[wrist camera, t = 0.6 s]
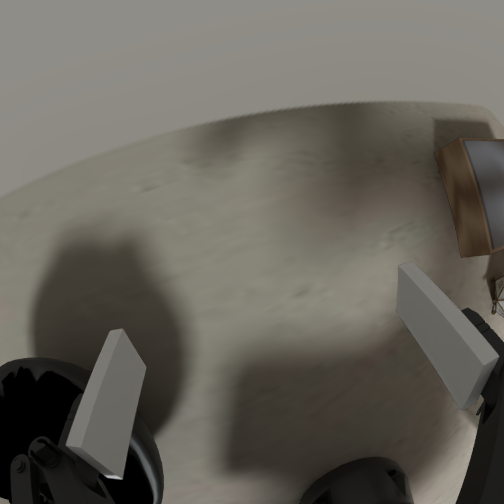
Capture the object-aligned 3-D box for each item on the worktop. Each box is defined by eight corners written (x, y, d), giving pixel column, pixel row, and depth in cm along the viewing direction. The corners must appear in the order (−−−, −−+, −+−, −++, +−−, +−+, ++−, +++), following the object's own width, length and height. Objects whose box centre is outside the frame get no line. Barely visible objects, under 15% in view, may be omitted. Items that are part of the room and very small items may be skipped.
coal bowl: (21, 332, 27) (-93, 358, 9) (169, 344, 29) (89, 431, 10) (53, 465, 26) (-14, 534, 7) (188, 491, 27) (168, 605, 8)
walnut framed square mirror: (513, 237, 33) (540, 233, 27) (461, 257, 31) (492, 254, 25) (490, 151, 33) (514, 138, 27) (433, 153, 32) (460, 136, 26)
